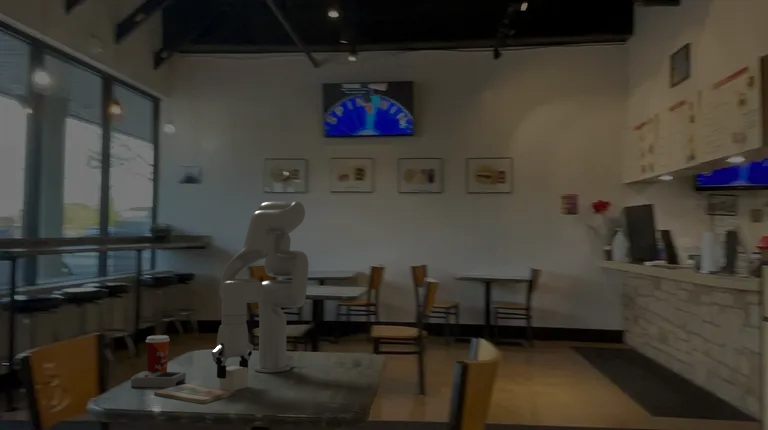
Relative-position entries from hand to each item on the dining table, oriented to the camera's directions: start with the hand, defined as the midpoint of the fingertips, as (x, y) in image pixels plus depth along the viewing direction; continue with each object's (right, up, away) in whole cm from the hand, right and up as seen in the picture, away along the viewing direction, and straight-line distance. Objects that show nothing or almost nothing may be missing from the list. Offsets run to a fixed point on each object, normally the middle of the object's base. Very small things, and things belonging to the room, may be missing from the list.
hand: (232, 375), depth 199 cm
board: (-9, -3, -9) cm, 13 cm away
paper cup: (-28, -5, +12) cm, 31 cm away
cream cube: (0, -4, +1) cm, 4 cm away
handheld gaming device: (-25, -5, +4) cm, 26 cm away
